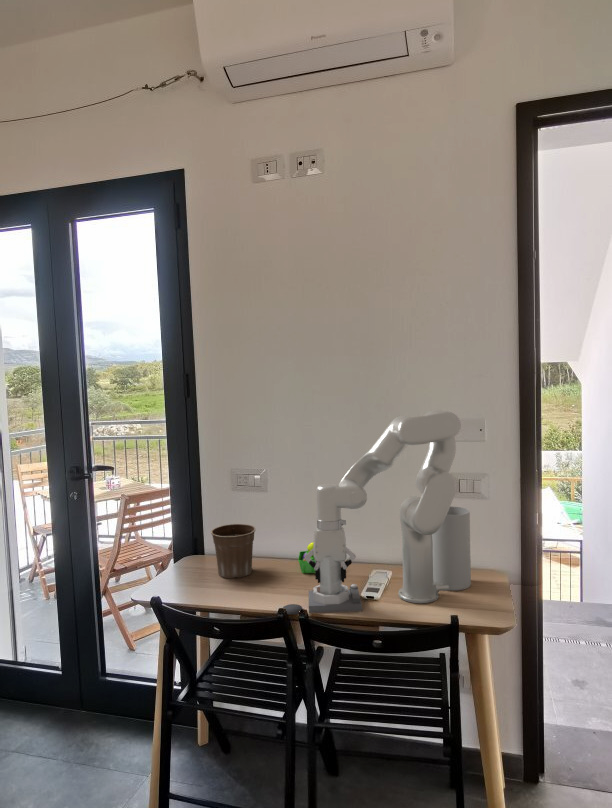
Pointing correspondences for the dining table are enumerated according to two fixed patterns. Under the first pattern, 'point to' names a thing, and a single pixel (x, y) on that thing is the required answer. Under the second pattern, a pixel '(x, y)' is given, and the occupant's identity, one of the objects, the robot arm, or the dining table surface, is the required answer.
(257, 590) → the dining table surface
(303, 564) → the fruit basket
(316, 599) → the octagonal ring base
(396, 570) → the dining table surface
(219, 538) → the plant pot
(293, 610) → the lens cap
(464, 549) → the cylinder vase
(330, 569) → the skincare box
